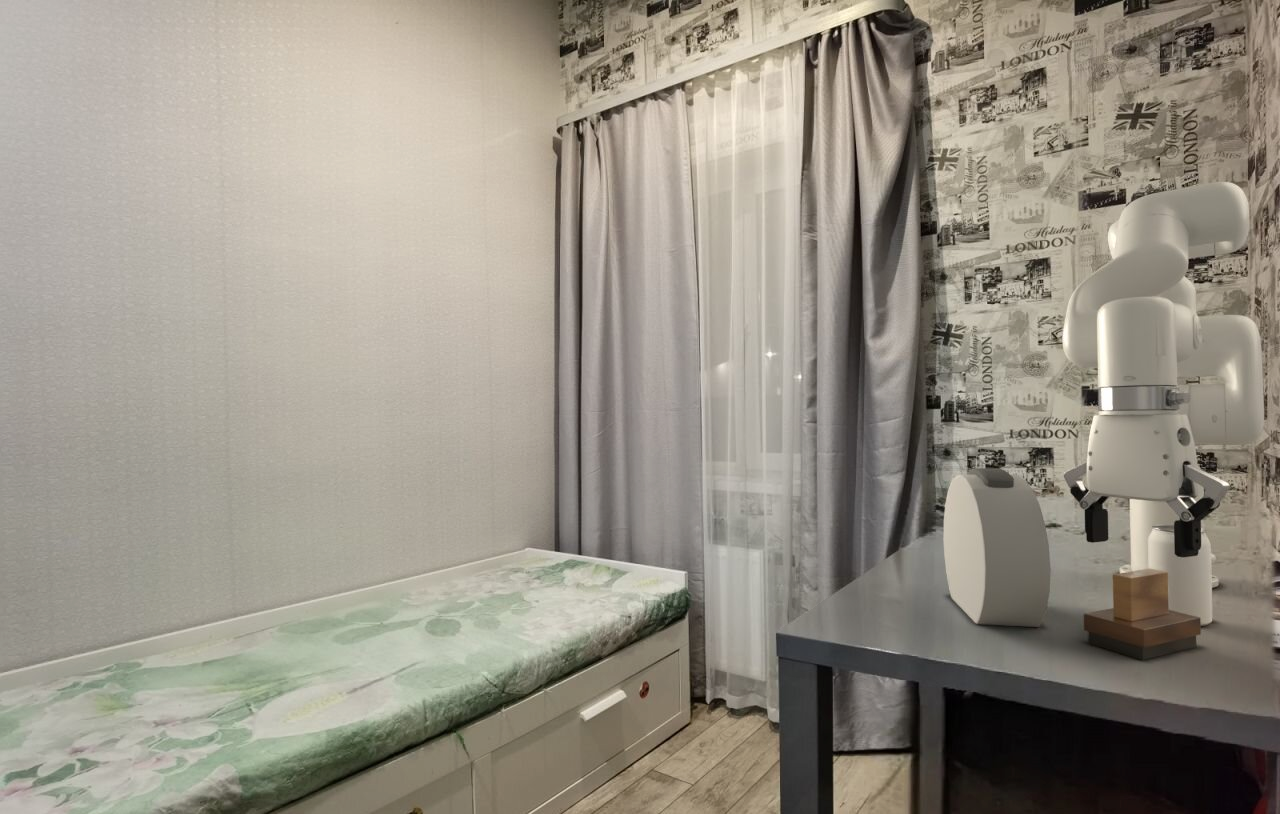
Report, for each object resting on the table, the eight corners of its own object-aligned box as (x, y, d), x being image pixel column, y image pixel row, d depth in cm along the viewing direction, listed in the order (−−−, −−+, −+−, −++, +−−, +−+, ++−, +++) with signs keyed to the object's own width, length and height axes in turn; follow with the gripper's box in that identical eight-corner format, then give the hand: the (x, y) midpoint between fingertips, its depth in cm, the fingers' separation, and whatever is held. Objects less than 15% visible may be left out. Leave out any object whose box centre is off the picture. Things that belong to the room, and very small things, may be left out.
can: (1153, 608, 92) (1152, 522, 92) (1215, 618, 88) (1213, 527, 88) (1145, 619, 88) (1143, 528, 88) (1209, 630, 83) (1207, 534, 83)
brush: (1139, 630, 83) (1138, 563, 83) (1201, 647, 77) (1199, 574, 77) (1084, 642, 79) (1082, 571, 79) (1144, 661, 73) (1142, 584, 73)
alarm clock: (1052, 637, 81) (1049, 475, 81) (986, 634, 83) (983, 475, 83) (995, 591, 102) (993, 462, 102) (943, 589, 103) (941, 462, 104)
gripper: (1244, 401, 72) (1248, 559, 71) (1084, 405, 88) (1086, 535, 87) (1203, 400, 69) (1207, 565, 69) (1045, 404, 85) (1047, 538, 84)
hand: (1139, 548), depth 78 cm, fingers open, 9 cm apart
